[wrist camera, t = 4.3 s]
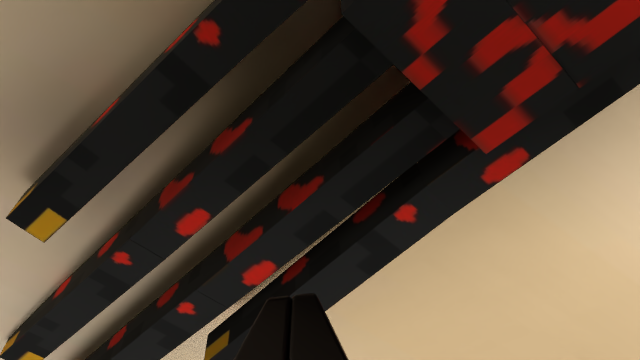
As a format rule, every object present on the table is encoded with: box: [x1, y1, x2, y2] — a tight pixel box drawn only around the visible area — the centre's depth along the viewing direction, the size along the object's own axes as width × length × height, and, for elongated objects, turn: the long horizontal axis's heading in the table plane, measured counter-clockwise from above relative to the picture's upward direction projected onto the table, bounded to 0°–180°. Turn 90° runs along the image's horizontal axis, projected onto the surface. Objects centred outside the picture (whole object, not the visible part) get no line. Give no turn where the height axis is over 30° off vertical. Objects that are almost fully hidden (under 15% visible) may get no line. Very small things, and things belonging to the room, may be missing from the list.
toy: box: [0, 0, 640, 360], centre depth 14 cm, size 8×5×30 cm
